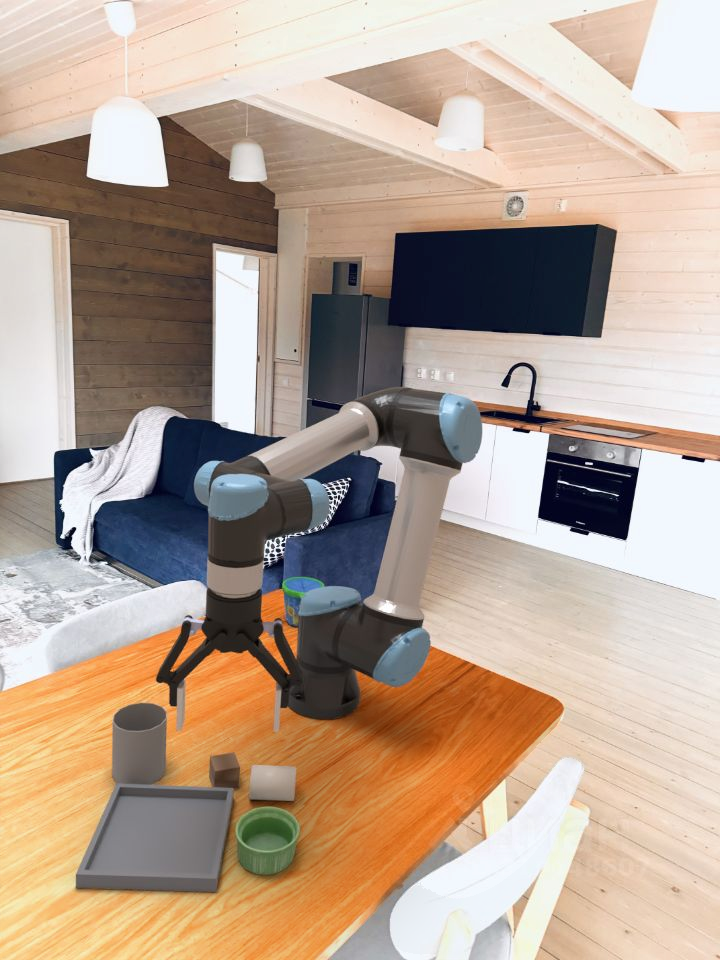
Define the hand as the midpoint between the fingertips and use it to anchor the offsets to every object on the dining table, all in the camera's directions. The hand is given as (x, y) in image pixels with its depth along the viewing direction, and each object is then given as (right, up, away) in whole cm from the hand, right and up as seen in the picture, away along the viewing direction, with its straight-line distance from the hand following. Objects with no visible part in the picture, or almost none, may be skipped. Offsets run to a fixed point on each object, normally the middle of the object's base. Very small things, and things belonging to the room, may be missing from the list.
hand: (228, 726), depth 99 cm
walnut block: (-3, -14, +13) cm, 19 cm away
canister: (+5, -14, +8) cm, 18 cm away
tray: (-9, -16, 0) cm, 19 cm away
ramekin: (+5, -18, -1) cm, 19 cm away
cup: (-17, -12, +14) cm, 25 cm away
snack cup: (+4, -1, +75) cm, 75 cm away
